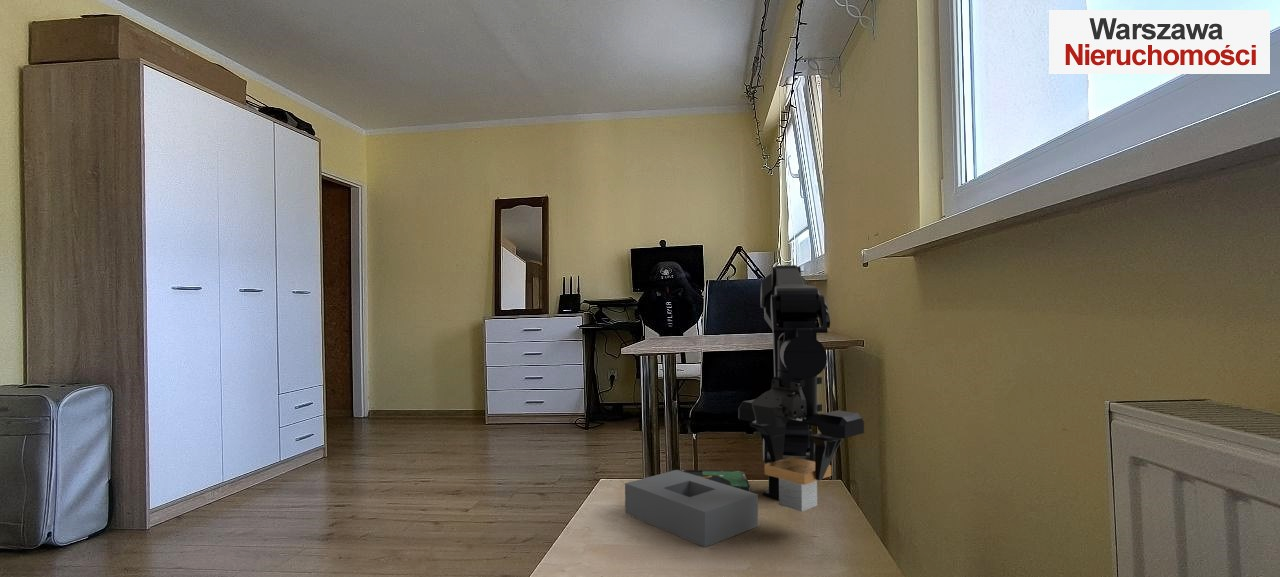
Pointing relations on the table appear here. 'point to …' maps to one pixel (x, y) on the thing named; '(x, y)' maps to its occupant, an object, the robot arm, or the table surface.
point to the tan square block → (796, 482)
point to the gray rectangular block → (692, 506)
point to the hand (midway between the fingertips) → (797, 474)
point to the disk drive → (723, 477)
